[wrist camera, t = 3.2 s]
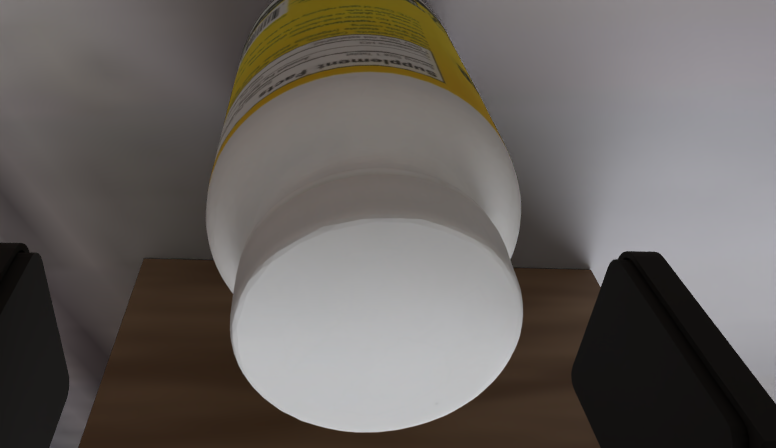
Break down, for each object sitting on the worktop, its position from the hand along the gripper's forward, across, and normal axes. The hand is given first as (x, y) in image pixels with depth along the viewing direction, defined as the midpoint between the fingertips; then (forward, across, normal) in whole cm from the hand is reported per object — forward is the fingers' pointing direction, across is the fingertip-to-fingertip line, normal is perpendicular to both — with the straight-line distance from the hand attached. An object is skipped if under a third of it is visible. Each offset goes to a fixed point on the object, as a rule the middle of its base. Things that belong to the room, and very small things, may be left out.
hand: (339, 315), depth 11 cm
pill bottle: (+10, -1, 0) cm, 10 cm away
